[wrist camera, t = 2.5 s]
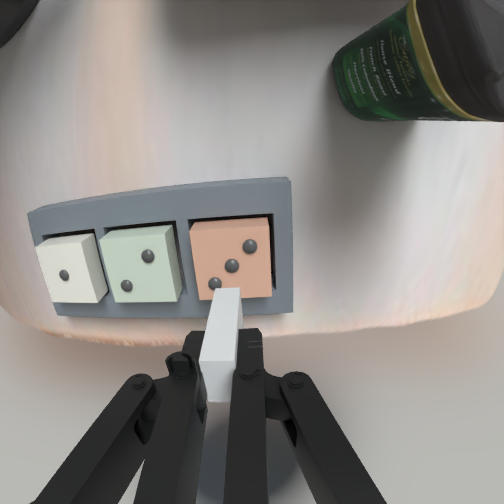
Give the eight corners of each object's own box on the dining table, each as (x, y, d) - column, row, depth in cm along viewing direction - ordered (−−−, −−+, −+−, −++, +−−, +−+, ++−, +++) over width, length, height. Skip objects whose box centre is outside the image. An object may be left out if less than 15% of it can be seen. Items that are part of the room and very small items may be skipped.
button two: (125, 289, 27) (114, 303, 24) (111, 230, 24) (98, 240, 22) (182, 287, 27) (176, 302, 24) (172, 224, 24) (163, 234, 22)
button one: (64, 290, 27) (51, 303, 24) (48, 238, 25) (33, 247, 22) (108, 290, 27) (97, 304, 24) (93, 233, 25) (79, 243, 22)
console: (69, 302, 30) (57, 315, 28) (43, 206, 26) (27, 213, 23) (289, 296, 30) (293, 312, 27) (286, 176, 25) (290, 181, 23)
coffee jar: (343, 128, 24) (496, 127, 6) (322, 48, 21) (427, -62, 4) (428, 118, 23) (585, 131, 6) (410, 45, 20) (548, -3, 3)
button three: (203, 286, 27) (199, 301, 24) (194, 222, 24) (188, 232, 22) (270, 282, 26) (272, 297, 24) (267, 217, 24) (269, 226, 22)
